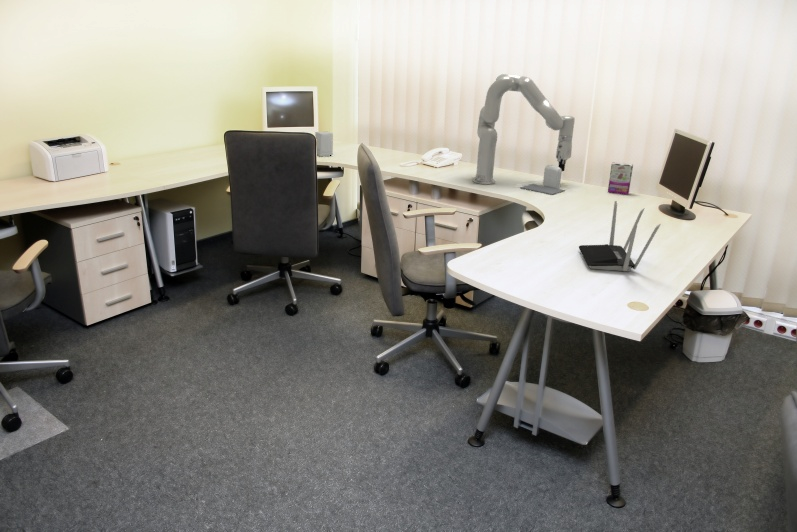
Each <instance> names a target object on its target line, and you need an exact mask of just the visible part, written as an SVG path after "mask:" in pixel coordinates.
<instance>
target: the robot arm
mask: <svg viewBox="0 0 797 532" xmlns="http://www.w3.org/2000/svg"><path fill="white" fill-rule="evenodd" d="M495 78H496V79H495V81H493V83H491V85H490V86H489V88H488V90H487V91H486V96H485V102H484V106H483V107H481V109H480V110H479V116H478V122H477V130H476V131H477V132H476V133H477V137H478V139H479V142H478V150H477V164H476V173H475V176H473V177H472V178H471V180H472V181H473V183H475V184H479V185H493V184H495V183H496V180H495V179H494V168H495V158H496V147H497V141H498V132H497V130H496V129H495V125H496V122H498V120H499V118H500V111H501V103H502V100H503V96H504V95H505V93H507V92H508V91H509V92H517V93H518V92H519V93H521V94H522V95H523V97H524V98H525V99H526V101H527V102H528V103H529V104H530V106H531V108H533V109H534V111H535V112H537V113H538V114H539V115H540V116H541V117H542V118H543V120H545V121H544V122H545V125H546V126H547V127H548V128H549V129H551V130H553V131H558V139H557V141H558V142H557V143H558V144H557V147H556V153H555V158H556V159H557V160H556V162H557V163H558V167H559V168H561V169H562V172H564V171H565V168H566V164H567V160H569V159H570V158H571V157H572V148H573V135H574V125H575V117H574V116H572V115H560V114H559V113H558V111H557V110H556V108H554V106H553V105H552V104H551V103H550V101H549V100H548V99H547V98H546V96H545V95H544V94H543V92H542V91H541V90H540V89H539V87H538V86H537V84H536V83H535V82H534V80H532V79H531V78H530V77H527V76H521V75H512V74H506V73H504V74H503V73H502V74H500V75H498V76H497V77H495Z"/></svg>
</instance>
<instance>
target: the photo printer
mask: <svg viewBox="0 0 797 532" xmlns="http://www.w3.org/2000/svg"><path fill="white" fill-rule="evenodd" d="M558 166H559V165H558ZM558 166H557V165H554V164H549V165H545V167H544V172H543V180H542V181H543V182H542V186H547V187H552V188H557V189H561V180H562V173H563V171H562V169H561V168H559V167H558Z"/></svg>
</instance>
